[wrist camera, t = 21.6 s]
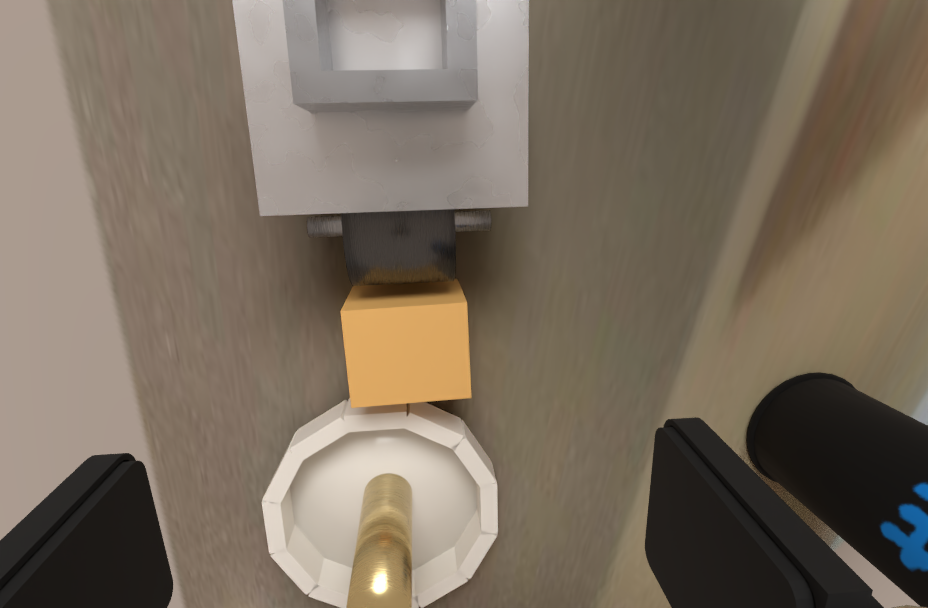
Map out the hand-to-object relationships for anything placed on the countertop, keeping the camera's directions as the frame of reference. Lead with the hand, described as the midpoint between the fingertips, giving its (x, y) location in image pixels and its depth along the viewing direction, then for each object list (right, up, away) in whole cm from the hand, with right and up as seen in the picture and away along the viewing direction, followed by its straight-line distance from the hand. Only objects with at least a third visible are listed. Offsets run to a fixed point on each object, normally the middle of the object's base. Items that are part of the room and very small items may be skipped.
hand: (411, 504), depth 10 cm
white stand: (-3, +13, +18) cm, 23 cm away
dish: (-4, -8, +24) cm, 25 cm away
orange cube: (-2, +2, +21) cm, 21 cm away
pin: (-4, -8, +23) cm, 25 cm away
